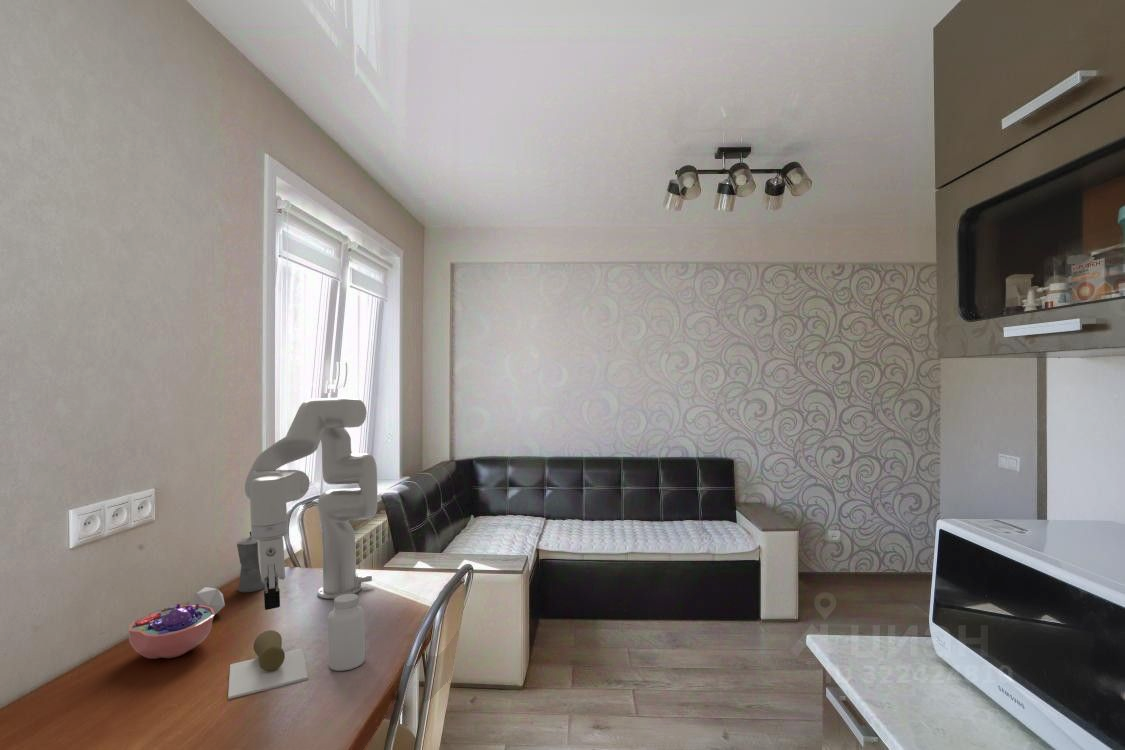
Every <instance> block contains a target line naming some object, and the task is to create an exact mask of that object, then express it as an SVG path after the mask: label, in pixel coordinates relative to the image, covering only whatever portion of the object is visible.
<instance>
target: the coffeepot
mask: <svg viewBox="0 0 1125 750" xmlns="http://www.w3.org/2000/svg"><path fill="white" fill-rule="evenodd" d="M236 548H237V552H238V557H239V564H240V573H239V581H238V586H237V587H238V588H237V591H238V592H240V593H254V592H257V591H262V590H263V589H264V590H265V583H263V582H262V580H261V574H260V568H259V558H258V541H256V540H252V538H251V531H249V536H248V537H245V538H244V537H243V538H241V540H237V541H236Z"/></svg>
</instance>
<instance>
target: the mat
mask: <svg viewBox="0 0 1125 750" xmlns="http://www.w3.org/2000/svg"><path fill="white" fill-rule="evenodd" d="M284 653H285V658H284V662H283V663H282V665H281V666H280V667H279V668H278V669H276V670H274V671H265V670H263V669H262V668H261V667H260V665H259V657H257V658H252V659H248V660H243V661H240V662H239V661H238V662H235V663H230V665H229V677H228V694H227V695H228V696H227V700H232V699H235V698H239V697H243V696H247V695H252V694H255V693H259V692H262V691H263V692H264V691H267V690H272V689H274V688H275V689H276V688H278V687H283V686H287V685H290V684H295V683H299V682H303V681H306V680H309V676H308V671H307V665H306V661H305V655H304V652H303V648H302V647H301V648H296V649H291V650H289V651H284Z"/></svg>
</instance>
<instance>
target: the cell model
mask: <svg viewBox="0 0 1125 750" xmlns="http://www.w3.org/2000/svg"><path fill="white" fill-rule="evenodd" d="M215 615H216V614H215V613H214V611H213V609H212V608H210V607H207V606H202V605H199V604H196V605H189V604H182V605H181V604H180V603H176V604H175V606H167V607H164V608H162V609H159V610H156V611H153V612H150V613H148V614H146V615H144V616H143V617H141V618H138V619H136V620H134V621H132V622H131V623H130V625H129V627H128V641H129V643H130V645H131V647H132V648H133V650H134V651H135V652H136V653H138V654H139V655H140V656H143V657H144V658H147V659H154V660H155V659H173V658H178V657H180V656H182V655H184V654H186V653H188V652H190V651H191V650H193V649H194V648H196V647H197V646H199V644H201V643H202V642H204V640H205V639H206V637H208V635H209V634H210V632H211V630H212V628H213V620H214V617H215Z"/></svg>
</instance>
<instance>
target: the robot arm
mask: <svg viewBox="0 0 1125 750" xmlns="http://www.w3.org/2000/svg"><path fill="white" fill-rule="evenodd" d="M367 414H368V413H367V407H366V405H365V403H364V402H363V401H362V400H361V399H359V398H346V397H345V398H344V397H331V398H330V397H329V398H327V397H325V398H324V397H323V398H310V399H307V400H305V401H303V402H302V403H301V404H300V406H299V407H298V409H297V412H296V414H295V416H294V418H293V421H292V422H291V423H290V427H289V429H288V431H287V434H286V435H285V436H284V437H282V438H281V439H279V440H278V441H276V442H275V443H273V444H271V445H270V446H269V447H268V448H267V447H266V449H265V450H264V451H262V452H261V453H260V454H259V455H258V456H257V457H256V459H254V462H253V464H252V465H251V468H250V470H249V472H248V474H247V477H246V479H245V483H244V493H245V495H246V497H247V499H249V504H250V505H249V506H250V532H251V536H250V537H251V538H252V540H256V541H258V558H259V568H260V574H261V580H262V582H263V583H265V588H264V591H263V597H264V598H263V601H264V610H266V611H267V610H271V609H272V610H273V609H277V608H280V607H281V595H280V590H281V589H280V588H279V580H282V581H284V580H285V579H286V572H285V571H286V570H285V567H286V566H285V547H284V545H285V543H284V537H286V536H287V535H288V514H287V503H289V502H296V501H298V500H301V499H302V498H303V497H305V495H306V494H307V493H308V491H309V489H310V479H309V475H308V474H307V473H306V472H304V471H302V470H298V469H282V470H281V469H279V468H281V467H283V466H285V465H286V464H287V465H288V464H290V463H292V462H295V461H297V460H299V461H300V460H301V459H304V458H306V457H308V456H310V455H312V454H314V453H315V452H316V451H317V450H318V448H319V445H321V465H322V467H321V471H322V478H323V481H324V482H325V484H327V485H331V486H345V485H346V486H347V485H358V487H359V488H334V489H329V490H326V491H324V492H323V493H321V494H320V495H319V497H318V500H317V510H318V511H317V512H318V515H319V520H320V521H319V522H320V526H321V527H320V530H321V548H322V553H321V554H322V586H321V587H319V589H317V596H318V597H319V598H321V599H329V600H334V599H335V598H336V597H338V596H340V595H344V594H357V593H359V592H360V591H361V590H362V583H369V582H372V580H373V576H372V574H366V573H365V574H361V575H359V574H357V572H356V571H357V569H356V534H355V529H354V527H353V526H352V524H351V523H350V522H349V521H359V520H360V521H364V520H369V519H372V518H373V517H375V516H376V514H377V511H378V506H379V505H378V503H379V502H378V500H379V499H378V497H379V496H378V471H377V470H378V469H377V462H376V459H375V458H374V456H373V455H372V454H369V453H366V452H364V453H361V452H360V453H359V452H358V453H353V452H352V441H351V440H352V439H351V436H350V434H349V432H348V431H347V429H348V428H349V429H350V428H358V427H361V426H362V425H364V423H365V421H366V418H367ZM320 443H321V444H320Z"/></svg>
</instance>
